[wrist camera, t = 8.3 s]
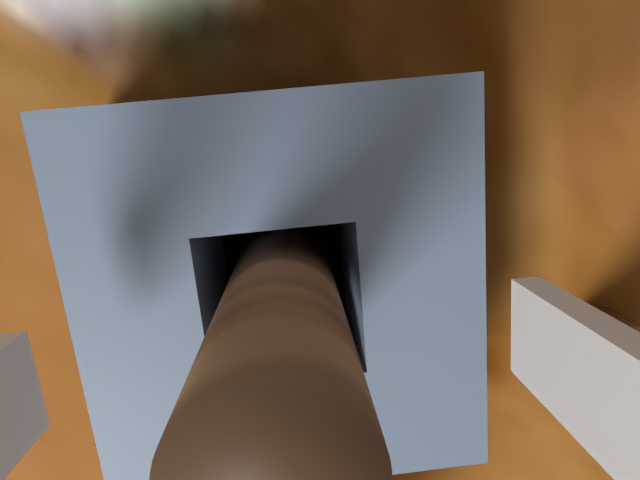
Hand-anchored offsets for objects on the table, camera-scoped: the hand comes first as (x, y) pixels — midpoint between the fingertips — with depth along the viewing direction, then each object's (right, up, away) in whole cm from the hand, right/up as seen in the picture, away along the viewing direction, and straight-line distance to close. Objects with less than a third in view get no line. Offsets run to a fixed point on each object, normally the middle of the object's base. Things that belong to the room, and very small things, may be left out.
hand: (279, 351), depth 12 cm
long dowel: (-1, +2, +9) cm, 9 cm away
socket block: (-1, +2, +9) cm, 9 cm away
